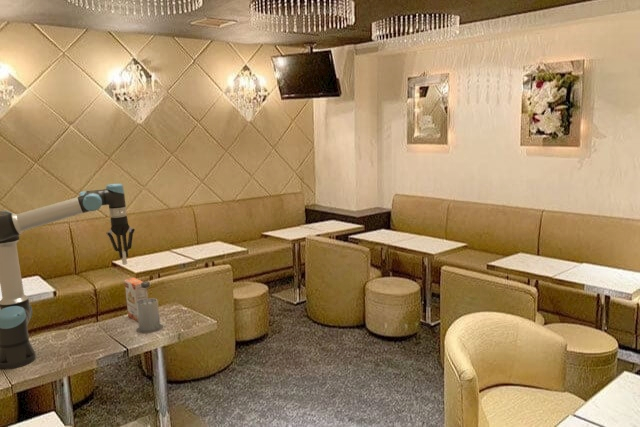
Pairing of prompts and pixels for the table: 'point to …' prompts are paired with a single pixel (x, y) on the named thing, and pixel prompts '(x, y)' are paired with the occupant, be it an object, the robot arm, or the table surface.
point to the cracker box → (133, 296)
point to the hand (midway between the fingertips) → (124, 264)
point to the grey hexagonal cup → (148, 315)
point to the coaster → (149, 332)
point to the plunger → (146, 285)
